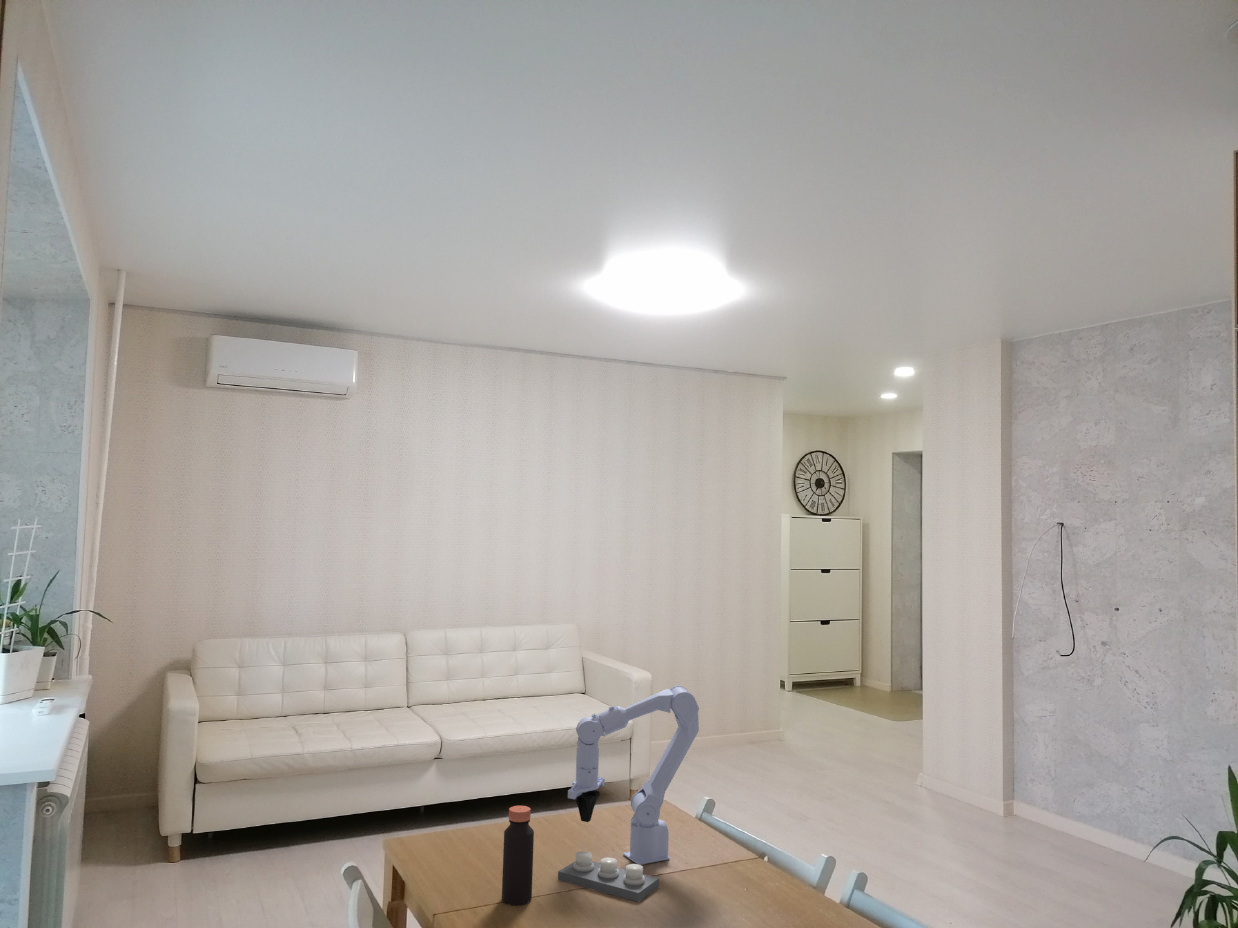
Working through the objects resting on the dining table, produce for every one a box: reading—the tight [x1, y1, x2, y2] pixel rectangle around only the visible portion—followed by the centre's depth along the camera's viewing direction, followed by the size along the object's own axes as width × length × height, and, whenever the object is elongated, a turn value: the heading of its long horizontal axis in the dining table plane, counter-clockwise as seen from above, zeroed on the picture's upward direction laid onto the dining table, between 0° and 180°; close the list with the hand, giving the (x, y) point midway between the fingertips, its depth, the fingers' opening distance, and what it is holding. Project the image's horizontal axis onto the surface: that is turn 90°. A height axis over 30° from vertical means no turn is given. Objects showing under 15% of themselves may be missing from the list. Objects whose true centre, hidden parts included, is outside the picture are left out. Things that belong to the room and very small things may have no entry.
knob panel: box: [557, 860, 660, 903], centre depth 208 cm, size 22×10×3 cm, turn 60°
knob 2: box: [599, 857, 618, 873], centre depth 208 cm, size 4×4×2 cm
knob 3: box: [625, 863, 644, 880], centre depth 204 cm, size 4×4×2 cm
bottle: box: [501, 805, 535, 906], centre depth 198 cm, size 7×7×20 cm
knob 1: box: [574, 850, 593, 866], centre depth 212 cm, size 4×4×2 cm
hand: (585, 820), depth 223 cm, fingers closed
